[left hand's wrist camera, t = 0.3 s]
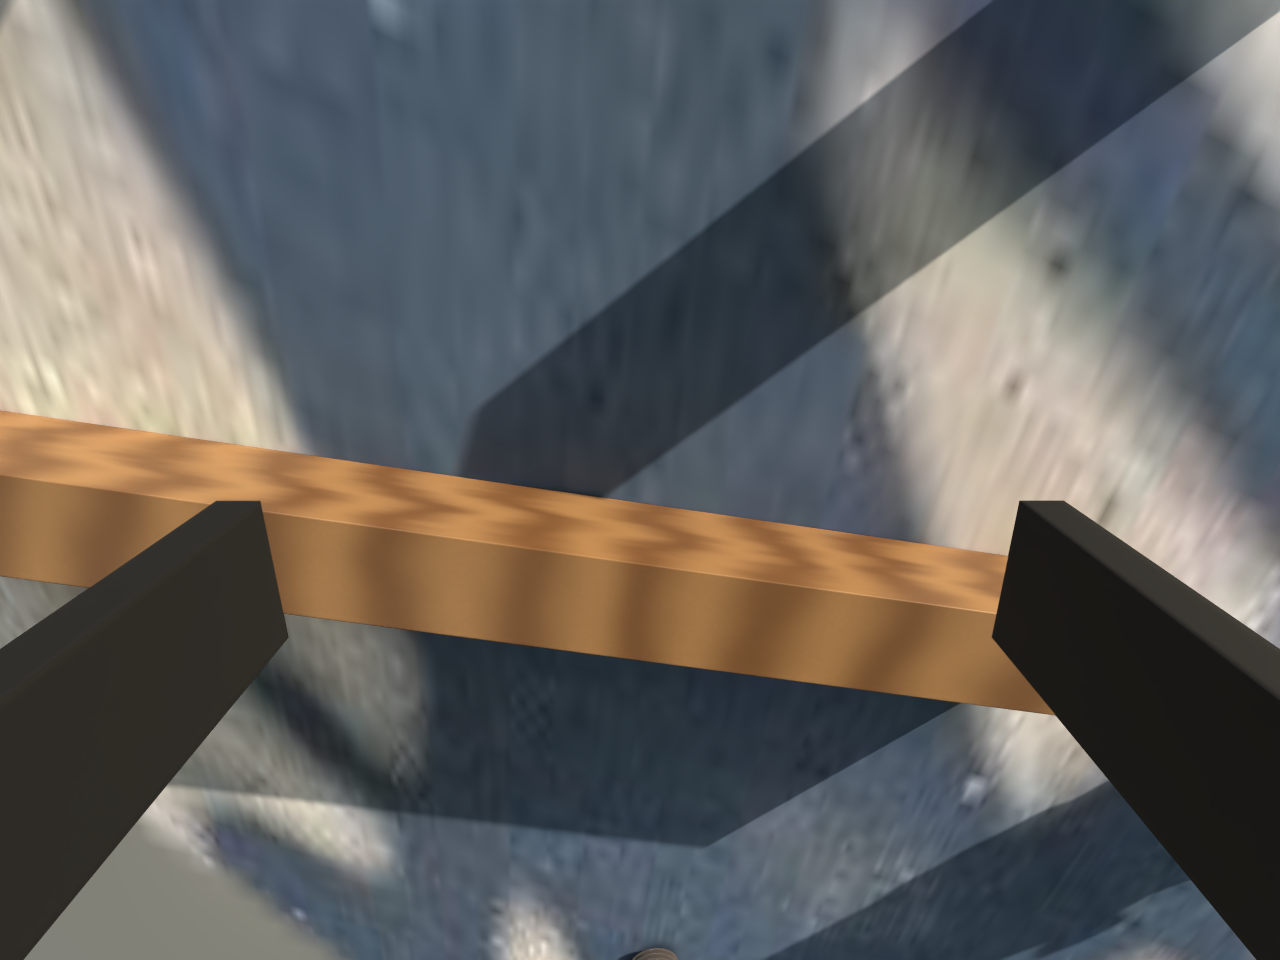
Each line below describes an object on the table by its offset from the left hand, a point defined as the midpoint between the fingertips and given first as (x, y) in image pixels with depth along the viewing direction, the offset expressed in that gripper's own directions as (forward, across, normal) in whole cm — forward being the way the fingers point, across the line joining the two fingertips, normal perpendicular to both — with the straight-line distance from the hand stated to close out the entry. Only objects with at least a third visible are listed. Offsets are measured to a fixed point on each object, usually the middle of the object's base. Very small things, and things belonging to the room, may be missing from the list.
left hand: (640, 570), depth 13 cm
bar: (+28, -6, -12) cm, 31 cm away
